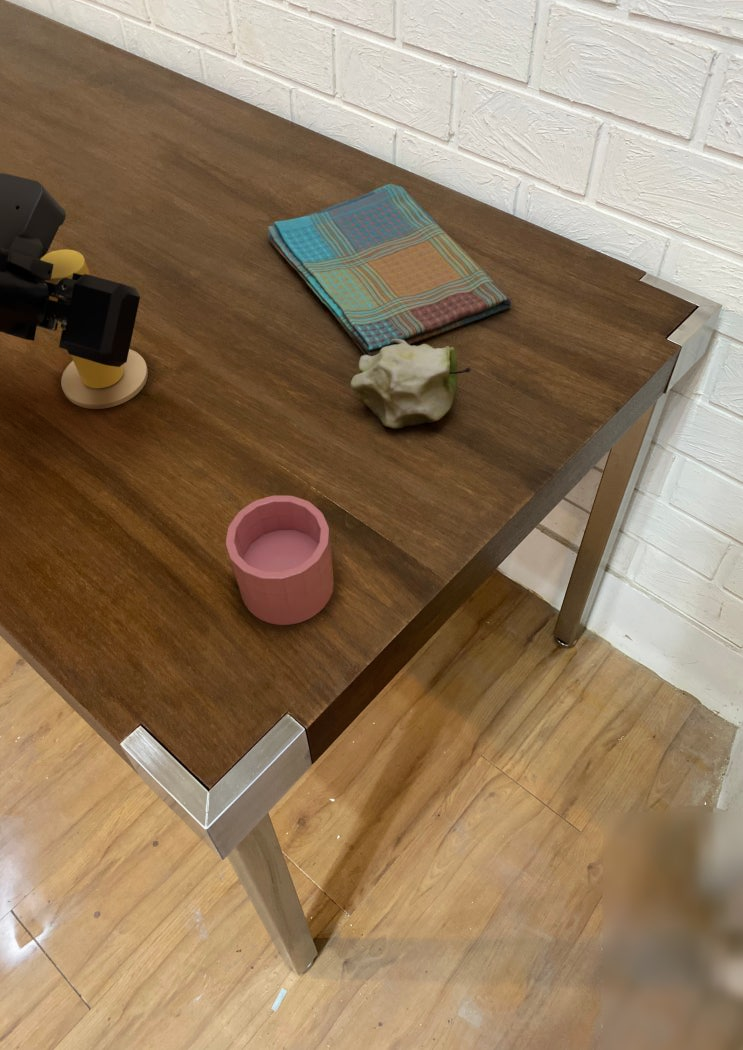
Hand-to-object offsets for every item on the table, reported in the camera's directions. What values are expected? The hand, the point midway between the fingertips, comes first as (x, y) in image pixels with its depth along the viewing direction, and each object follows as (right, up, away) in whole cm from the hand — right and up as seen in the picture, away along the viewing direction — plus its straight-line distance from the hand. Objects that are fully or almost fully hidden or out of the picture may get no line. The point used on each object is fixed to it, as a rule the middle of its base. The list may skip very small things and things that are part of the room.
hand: (92, 315), depth 69 cm
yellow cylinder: (0, -4, +4) cm, 6 cm away
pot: (+18, -23, -9) cm, 31 cm away
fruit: (+28, -8, +2) cm, 29 cm away
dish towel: (+26, +8, +14) cm, 31 cm away
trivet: (0, -5, +5) cm, 7 cm away
